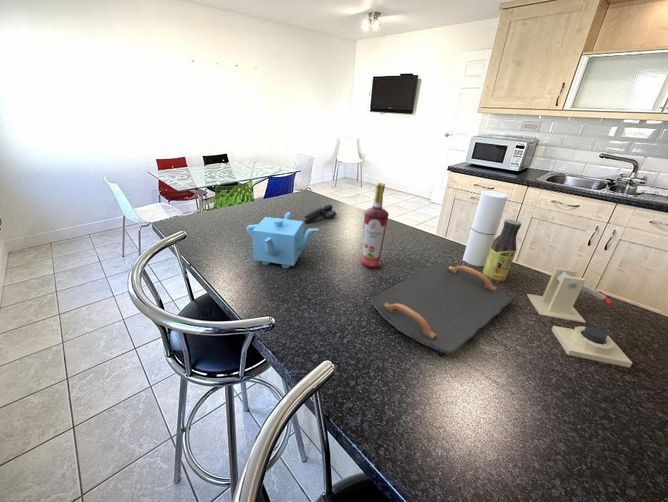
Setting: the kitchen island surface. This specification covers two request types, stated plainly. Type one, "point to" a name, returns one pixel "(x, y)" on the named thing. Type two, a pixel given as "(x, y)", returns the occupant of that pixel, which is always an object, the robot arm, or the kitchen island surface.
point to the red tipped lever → (591, 291)
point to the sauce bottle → (502, 252)
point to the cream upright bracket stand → (560, 296)
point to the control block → (590, 347)
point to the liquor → (374, 230)
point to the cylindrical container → (484, 227)
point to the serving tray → (442, 306)
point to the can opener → (320, 213)
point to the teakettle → (278, 240)
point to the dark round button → (594, 335)
